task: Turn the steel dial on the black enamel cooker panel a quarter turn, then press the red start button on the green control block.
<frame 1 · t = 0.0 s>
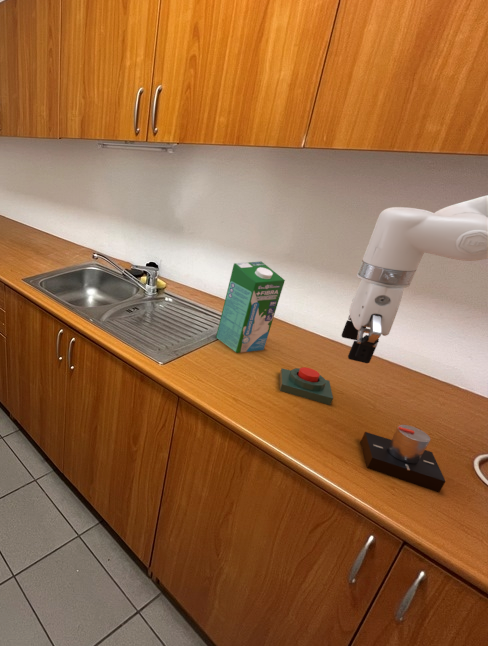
hand: (354, 349, 82), 20 cm above the worktop, tool pointing down, fingers open, 9 cm apart
dial panel: (396, 465, 78), on the worktop
start button: (308, 374, 98), point 4 cm above the worktop, slide at 0.1 cm
milk carton: (238, 344, 120), on the worktop
button block: (303, 389, 100), on the worktop
dial: (408, 443, 76), point 6 cm above the worktop, hinge at 0.0°
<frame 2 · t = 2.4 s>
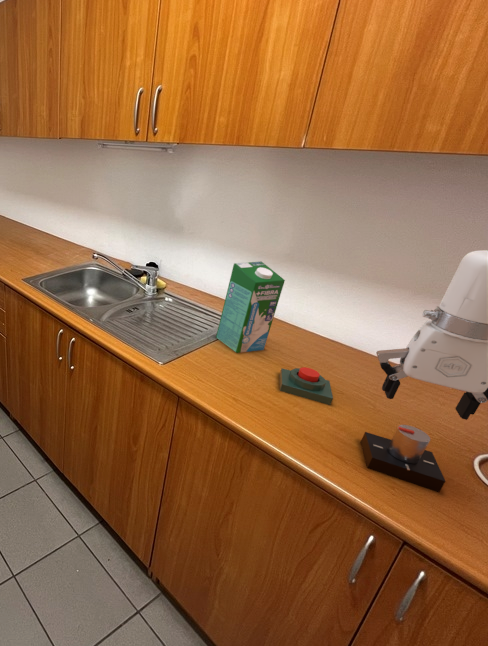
hand: (423, 404, 73), 15 cm above the worktop, tool pointing down, fingers open, 9 cm apart
nothing on the worktop moved.
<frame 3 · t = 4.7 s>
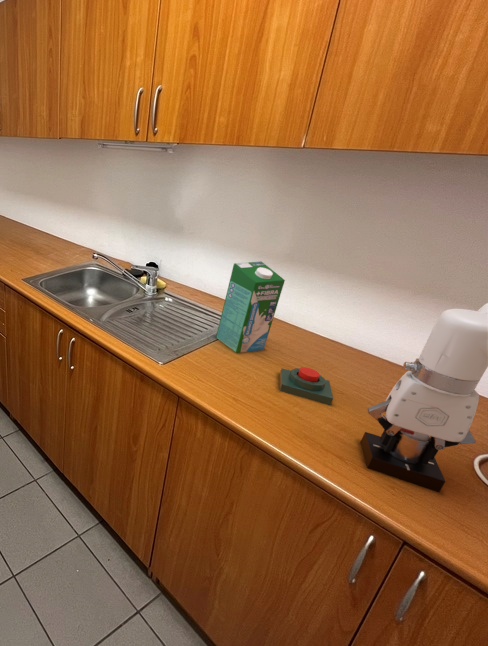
hand: (403, 452, 77), 4 cm above the worktop, tool pointing down, fingers closed on dial, 4 cm apart
dial: (408, 443, 76), point 6 cm above the worktop, hinge at -0.1°, touching gripper
everything else where it was.
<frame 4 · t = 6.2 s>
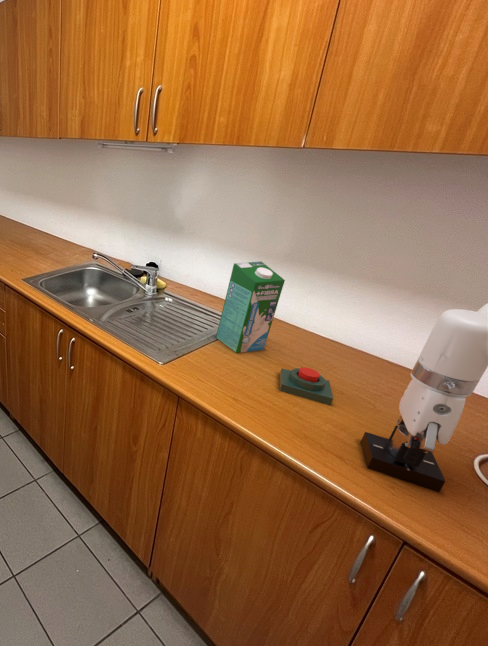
hand: (402, 452, 77), 3 cm above the worktop, tool pointing down, fingers open, 4 cm apart
dial: (408, 443, 76), point 6 cm above the worktop, hinge at 90.7°
everything else where it was.
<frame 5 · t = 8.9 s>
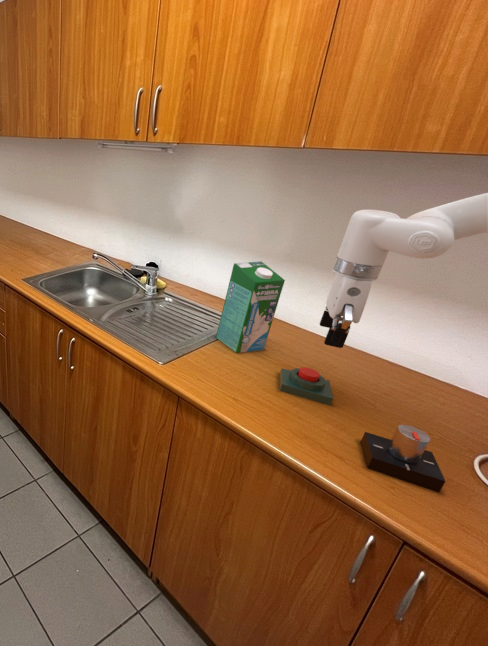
hand: (330, 336, 92), 17 cm above the worktop, tool pointing down, fingers open, 9 cm apart
nothing on the worktop moved.
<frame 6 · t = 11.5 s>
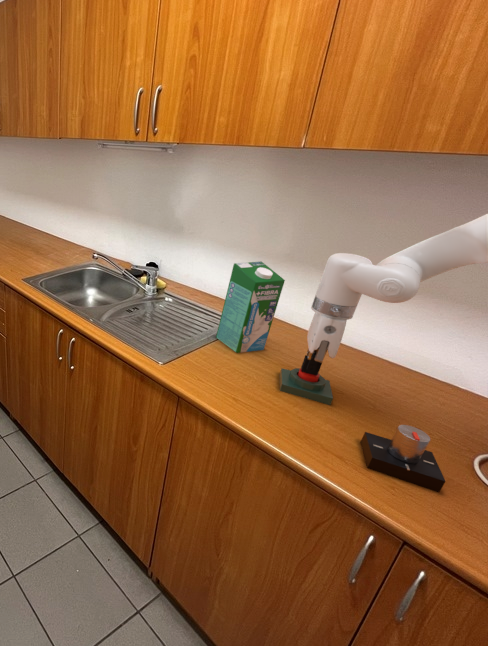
hand: (308, 371, 98), 5 cm above the worktop, tool pointing down, fingers closed
start button: (308, 375, 98), point 4 cm above the worktop, slide at 0.0 cm, touching gripper
everything else where it was.
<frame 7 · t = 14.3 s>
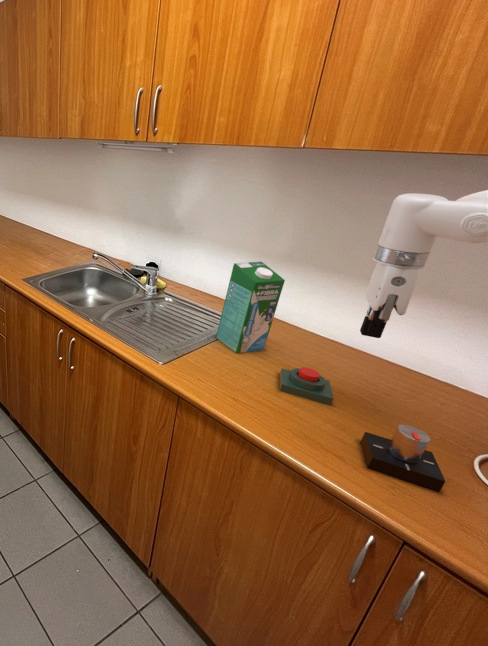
hand: (369, 334, 87), 20 cm above the worktop, tool pointing down, fingers closed
start button: (308, 374, 98), point 4 cm above the worktop, slide at 0.1 cm
everything else where it was.
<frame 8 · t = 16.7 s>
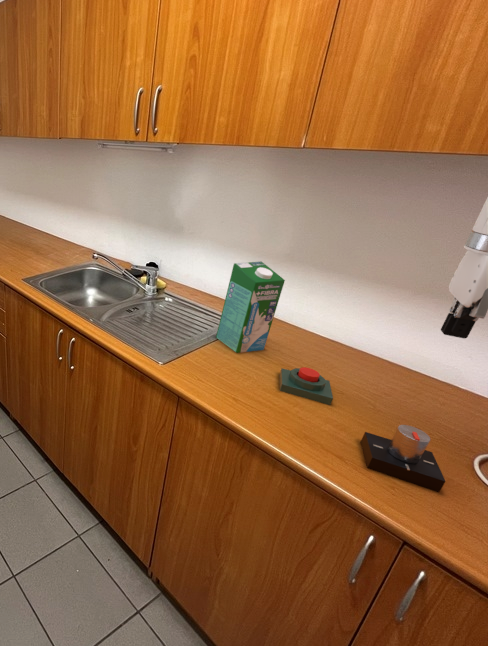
hand: (453, 334, 76), 25 cm above the worktop, tool pointing down, fingers closed
nothing on the worktop moved.
at the end: dial at +91° (first picture: +0°); start button pushed in 1.1 cm at the most during the clip, back to where it started at the end; start button slide at 0.1 cm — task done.
